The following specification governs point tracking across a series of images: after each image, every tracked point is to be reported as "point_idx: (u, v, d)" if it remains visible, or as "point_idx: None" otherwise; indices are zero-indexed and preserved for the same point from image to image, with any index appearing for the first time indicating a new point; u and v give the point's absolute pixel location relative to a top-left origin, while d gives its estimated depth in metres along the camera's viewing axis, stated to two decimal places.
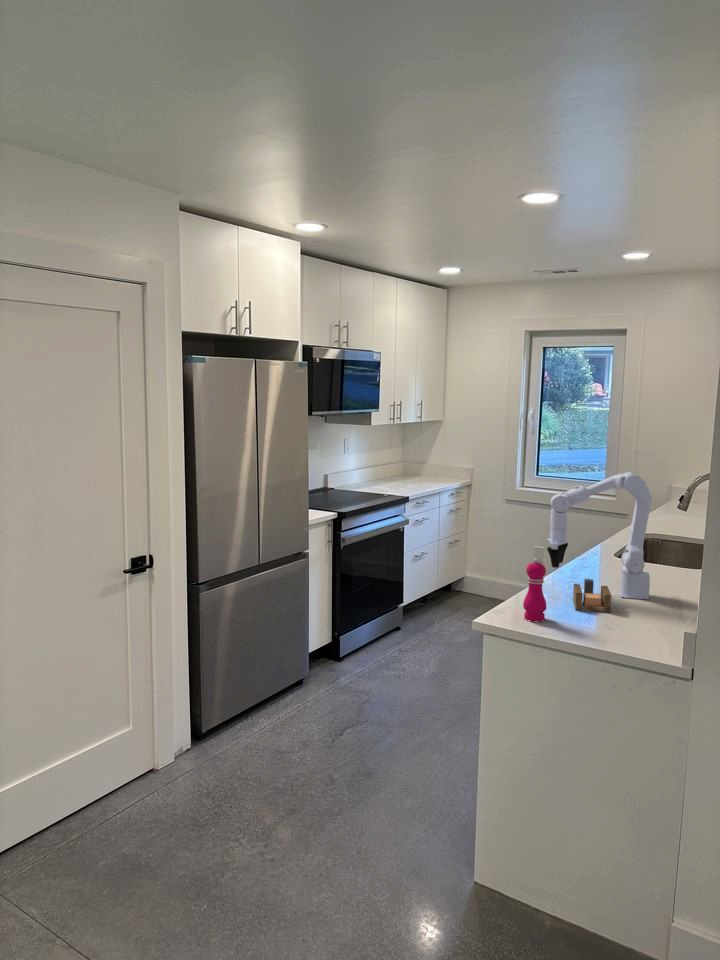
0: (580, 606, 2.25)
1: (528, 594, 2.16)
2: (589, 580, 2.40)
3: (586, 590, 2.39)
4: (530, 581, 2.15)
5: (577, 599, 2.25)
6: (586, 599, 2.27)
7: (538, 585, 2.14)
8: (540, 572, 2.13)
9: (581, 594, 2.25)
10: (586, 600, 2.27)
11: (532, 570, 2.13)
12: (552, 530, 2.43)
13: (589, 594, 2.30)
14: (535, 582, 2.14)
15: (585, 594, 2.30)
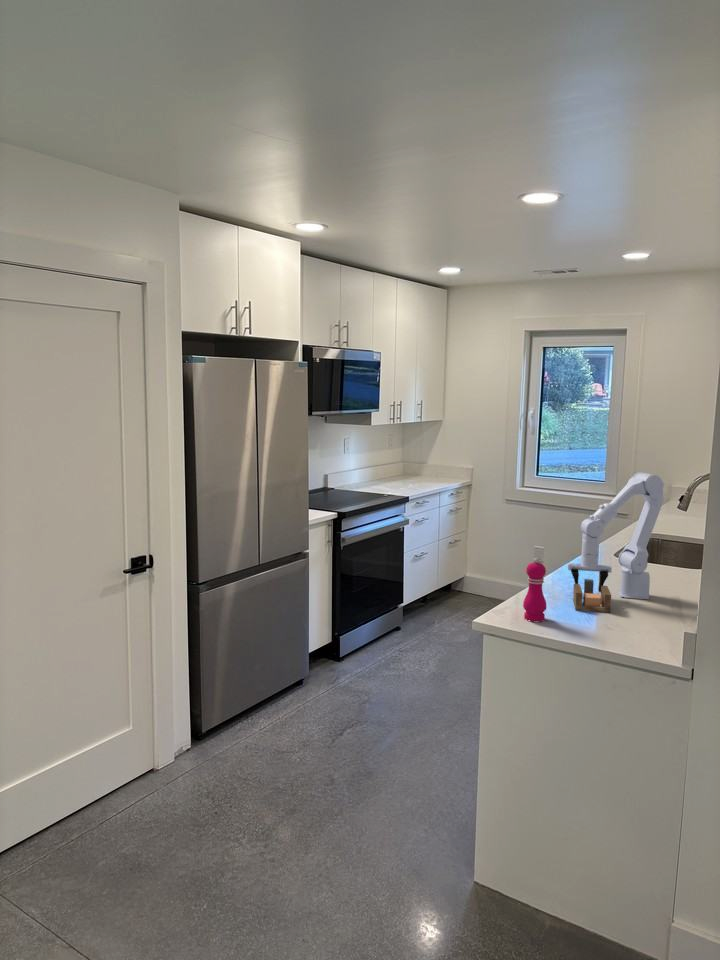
0: (580, 606, 2.25)
1: (528, 594, 2.16)
2: (589, 580, 2.40)
3: (586, 590, 2.39)
4: (530, 581, 2.15)
5: (577, 599, 2.25)
6: (586, 599, 2.27)
7: (538, 585, 2.14)
8: (540, 572, 2.13)
9: (581, 594, 2.25)
10: (586, 600, 2.27)
11: (532, 570, 2.13)
12: None
13: (589, 594, 2.30)
14: (535, 582, 2.14)
15: (585, 594, 2.30)
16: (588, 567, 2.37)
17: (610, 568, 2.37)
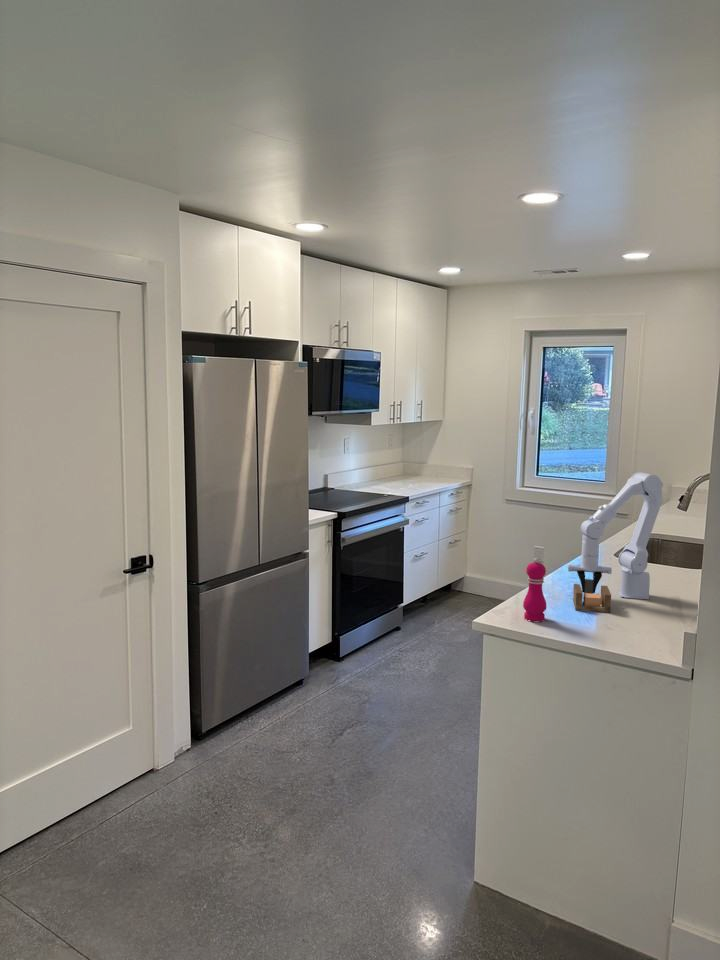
0: (580, 606, 2.25)
1: (528, 594, 2.16)
2: (589, 580, 2.40)
3: (586, 590, 2.39)
4: (530, 581, 2.15)
5: (577, 599, 2.25)
6: (586, 599, 2.27)
7: (538, 585, 2.14)
8: (540, 572, 2.13)
9: (581, 594, 2.25)
10: (586, 600, 2.27)
11: (532, 570, 2.13)
12: None
13: (589, 594, 2.30)
14: (535, 582, 2.14)
15: (585, 594, 2.30)
16: (588, 568, 2.37)
17: (610, 569, 2.37)
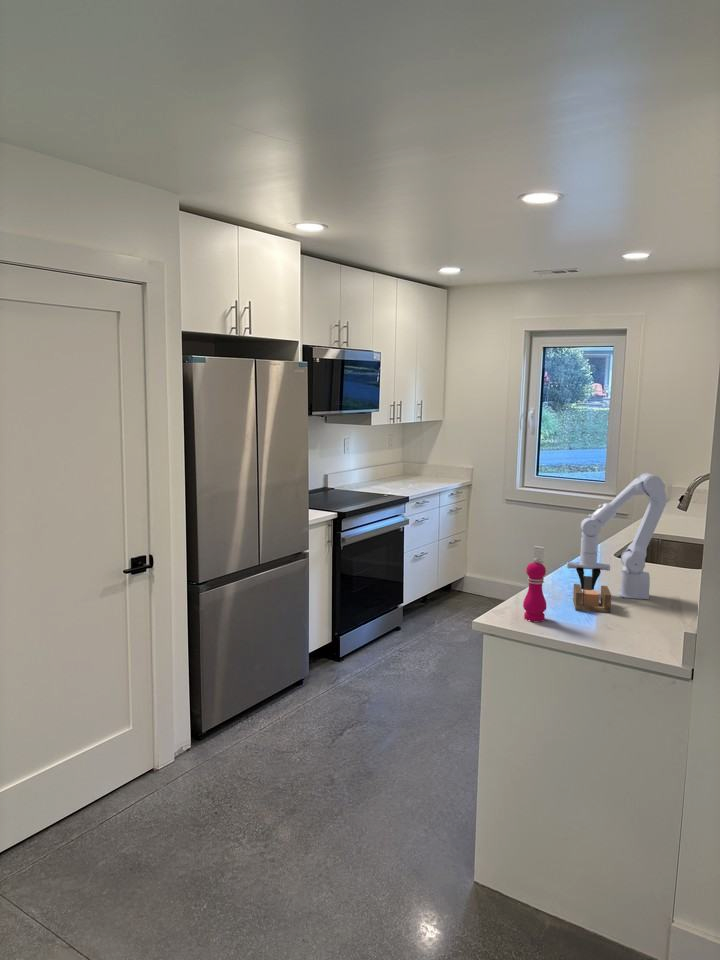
0: (580, 606, 2.25)
1: (528, 594, 2.16)
2: (588, 577, 2.44)
3: (585, 587, 2.43)
4: (530, 581, 2.15)
5: (577, 599, 2.25)
6: (585, 595, 2.31)
7: (538, 585, 2.14)
8: (540, 572, 2.13)
9: (581, 594, 2.25)
10: (585, 596, 2.31)
11: (532, 570, 2.13)
12: None
13: (588, 591, 2.34)
14: (535, 582, 2.14)
15: (584, 591, 2.34)
16: (587, 565, 2.41)
17: (609, 566, 2.41)
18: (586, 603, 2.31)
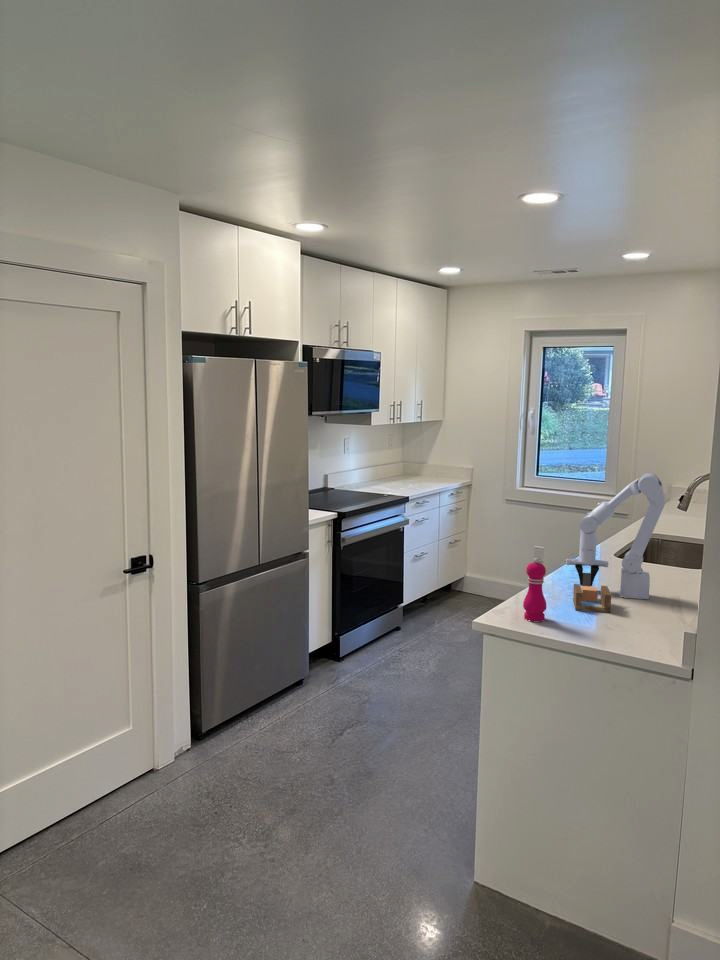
0: (580, 606, 2.25)
1: (528, 594, 2.16)
2: (587, 574, 2.48)
3: (584, 583, 2.48)
4: (530, 581, 2.15)
5: (577, 599, 2.25)
6: (584, 591, 2.35)
7: (538, 585, 2.14)
8: (540, 572, 2.13)
9: (581, 594, 2.25)
10: (584, 592, 2.35)
11: (532, 570, 2.13)
12: None
13: (587, 587, 2.38)
14: (535, 582, 2.14)
15: (583, 587, 2.38)
16: (586, 562, 2.45)
17: (607, 563, 2.46)
18: (585, 599, 2.35)
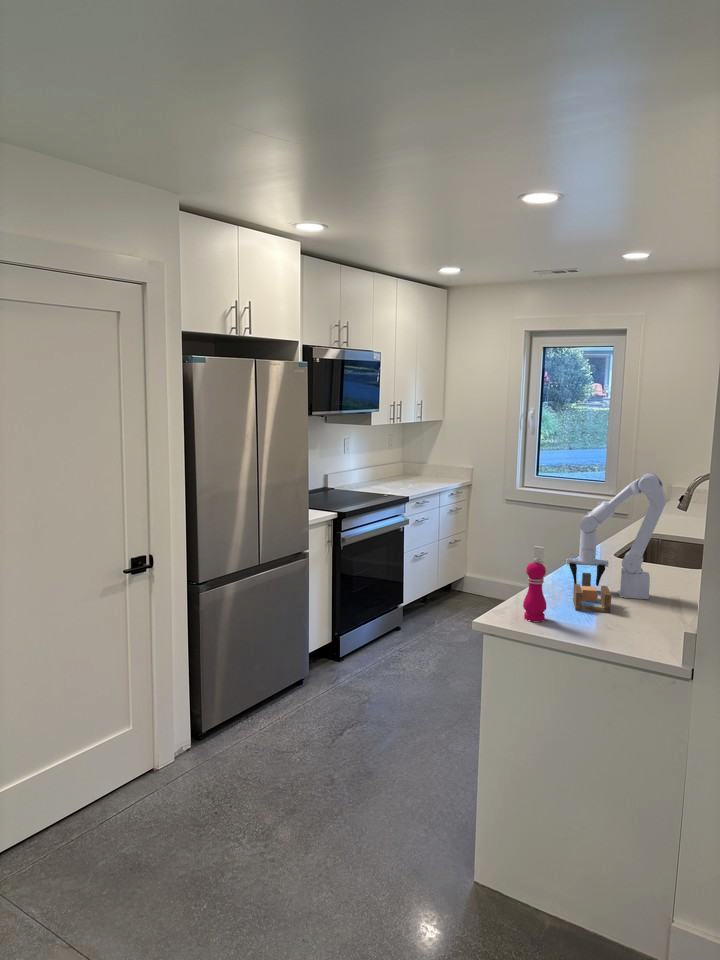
0: (580, 606, 2.25)
1: (528, 594, 2.16)
2: (587, 574, 2.48)
3: (584, 583, 2.48)
4: (530, 581, 2.14)
5: (577, 599, 2.25)
6: (584, 591, 2.35)
7: (538, 585, 2.14)
8: (540, 572, 2.13)
9: (581, 594, 2.25)
10: (584, 592, 2.35)
11: (532, 570, 2.13)
12: None
13: (587, 587, 2.38)
14: (535, 582, 2.14)
15: (583, 587, 2.38)
16: (586, 561, 2.45)
17: (607, 562, 2.46)
18: (585, 599, 2.35)
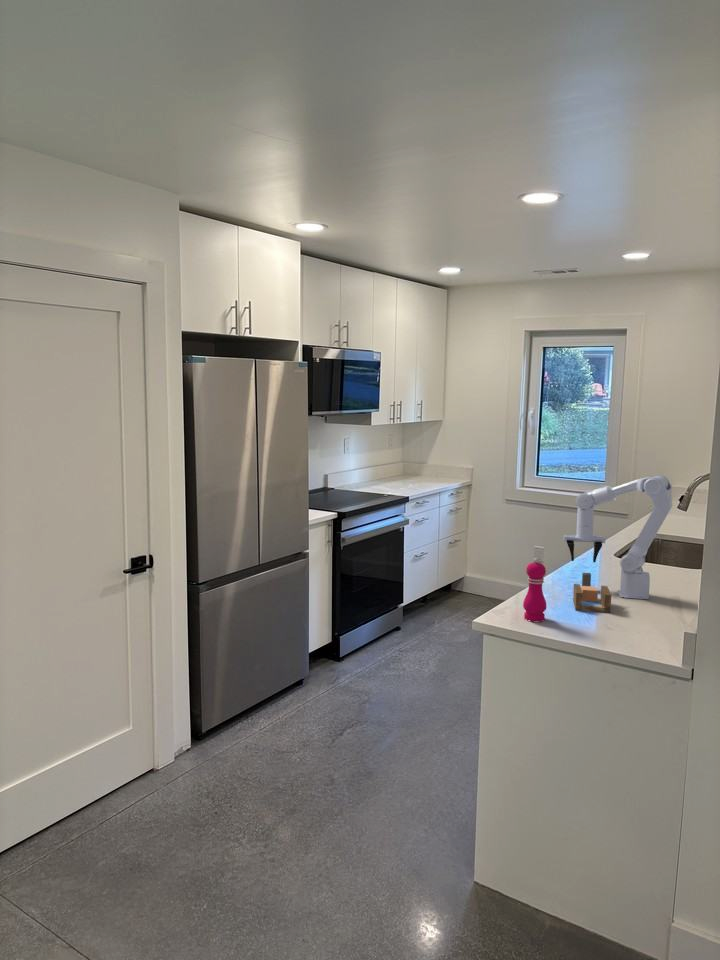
0: (580, 606, 2.25)
1: (528, 594, 2.16)
2: (587, 574, 2.48)
3: (584, 583, 2.48)
4: (530, 581, 2.15)
5: (577, 599, 2.25)
6: (584, 591, 2.35)
7: (538, 585, 2.14)
8: (540, 572, 2.13)
9: (581, 594, 2.25)
10: (584, 592, 2.35)
11: (532, 570, 2.13)
12: None
13: (587, 587, 2.38)
14: (535, 582, 2.14)
15: (583, 587, 2.38)
16: (583, 538, 2.48)
17: (604, 539, 2.48)
18: (585, 599, 2.35)
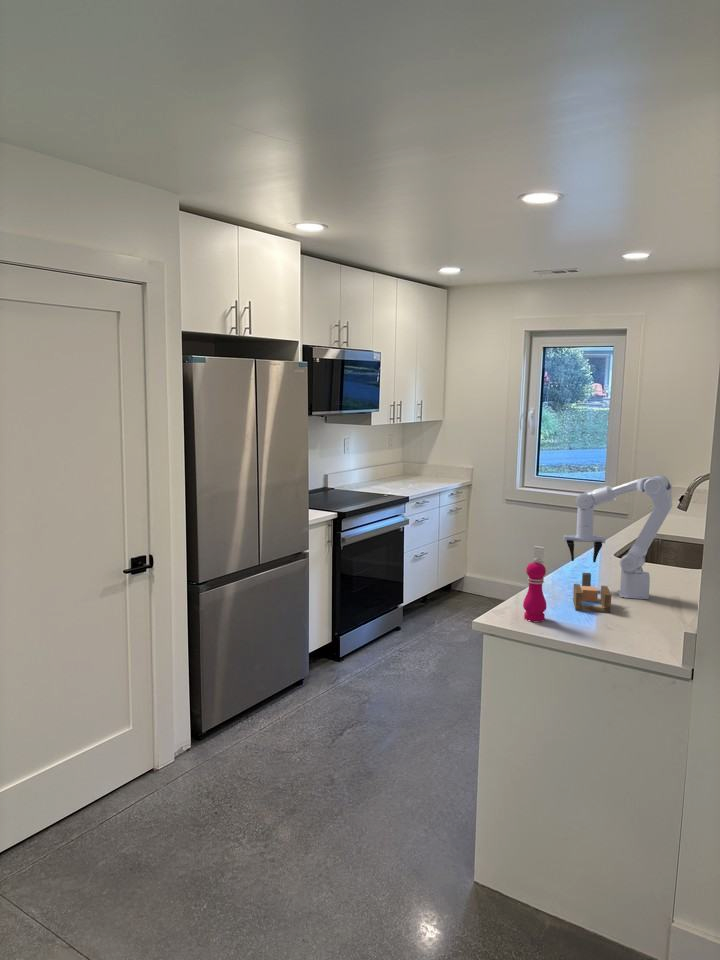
0: (580, 606, 2.25)
1: (528, 594, 2.16)
2: (587, 574, 2.48)
3: (584, 583, 2.48)
4: (530, 581, 2.15)
5: (577, 599, 2.25)
6: (584, 591, 2.35)
7: (538, 585, 2.14)
8: (540, 572, 2.13)
9: (581, 594, 2.25)
10: (584, 592, 2.35)
11: (532, 570, 2.13)
12: None
13: (587, 587, 2.38)
14: (535, 582, 2.14)
15: (583, 587, 2.38)
16: (583, 538, 2.48)
17: (604, 539, 2.48)
18: (585, 599, 2.35)
